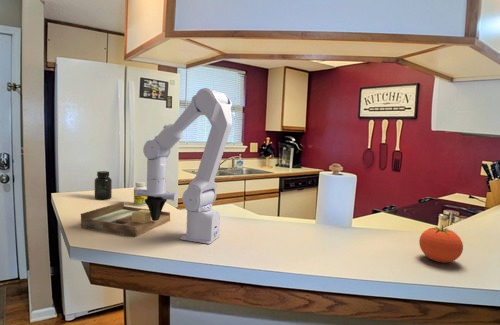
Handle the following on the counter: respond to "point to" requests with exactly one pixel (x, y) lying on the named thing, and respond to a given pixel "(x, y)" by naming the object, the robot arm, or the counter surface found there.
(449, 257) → the tomato
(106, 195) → the supplement bottle
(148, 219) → the block
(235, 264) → the counter surface
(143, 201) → the supplement bottle
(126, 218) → the box
